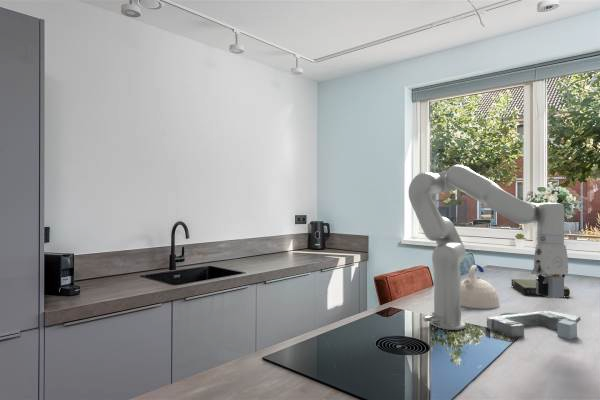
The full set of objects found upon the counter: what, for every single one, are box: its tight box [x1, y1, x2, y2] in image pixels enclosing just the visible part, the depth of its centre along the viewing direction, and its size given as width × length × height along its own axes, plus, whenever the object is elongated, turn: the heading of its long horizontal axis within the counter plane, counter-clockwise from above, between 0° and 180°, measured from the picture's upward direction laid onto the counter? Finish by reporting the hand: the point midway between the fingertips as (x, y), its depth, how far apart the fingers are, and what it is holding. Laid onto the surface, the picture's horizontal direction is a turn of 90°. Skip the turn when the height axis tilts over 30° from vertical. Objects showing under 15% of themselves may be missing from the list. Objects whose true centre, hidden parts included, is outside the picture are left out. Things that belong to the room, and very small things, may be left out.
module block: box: [535, 275, 565, 299], centre depth 129 cm, size 5×6×7 cm
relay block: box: [556, 320, 578, 340], centre depth 136 cm, size 5×4×5 cm
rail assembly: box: [486, 310, 571, 339], centre depth 144 cm, size 28×11×4 cm, turn 107°
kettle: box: [460, 264, 500, 310], centre depth 182 cm, size 20×21×18 cm
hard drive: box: [544, 310, 581, 323], centre depth 159 cm, size 2×8×12 cm
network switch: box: [511, 278, 571, 298], centre depth 204 cm, size 23×23×5 cm
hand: (549, 293), depth 129 cm, fingers closed on module block, 5 cm apart
